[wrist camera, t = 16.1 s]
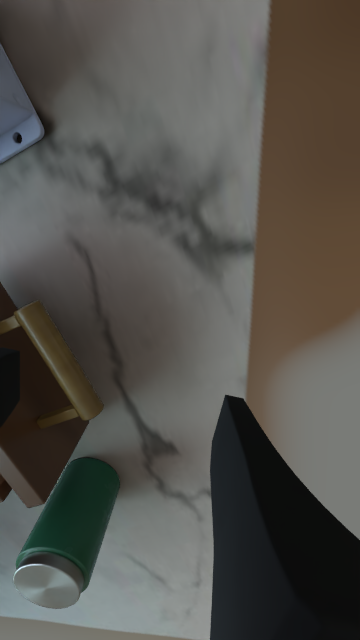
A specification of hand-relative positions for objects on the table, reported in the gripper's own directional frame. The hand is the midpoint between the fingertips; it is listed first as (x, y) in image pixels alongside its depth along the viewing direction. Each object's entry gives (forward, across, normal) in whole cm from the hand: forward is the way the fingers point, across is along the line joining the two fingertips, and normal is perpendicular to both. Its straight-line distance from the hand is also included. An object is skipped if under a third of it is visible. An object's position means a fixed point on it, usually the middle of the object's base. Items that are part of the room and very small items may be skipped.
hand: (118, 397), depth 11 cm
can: (+10, +3, +17) cm, 20 cm away
